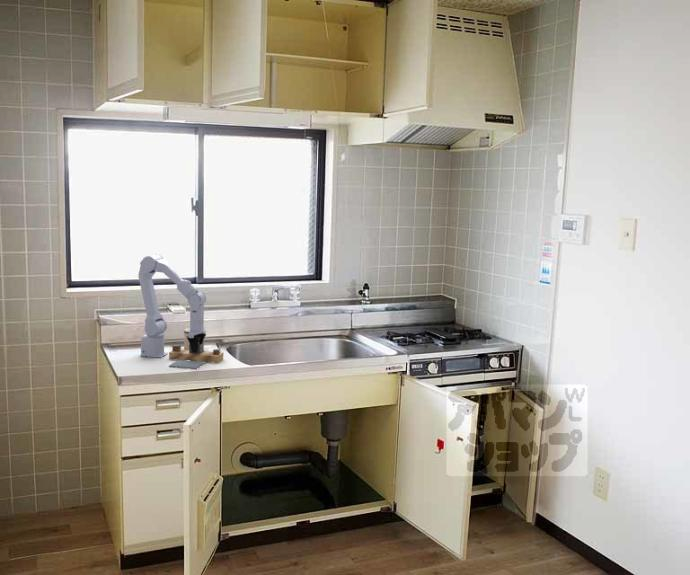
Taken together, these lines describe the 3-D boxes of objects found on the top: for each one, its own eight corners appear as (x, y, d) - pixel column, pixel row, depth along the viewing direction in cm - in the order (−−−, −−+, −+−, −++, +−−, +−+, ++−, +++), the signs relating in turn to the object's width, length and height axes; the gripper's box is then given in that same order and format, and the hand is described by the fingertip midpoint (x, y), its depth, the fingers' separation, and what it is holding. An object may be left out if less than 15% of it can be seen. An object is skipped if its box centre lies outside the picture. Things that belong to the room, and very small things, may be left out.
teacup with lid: (201, 351, 327) (202, 326, 325) (181, 351, 326) (182, 326, 325) (205, 346, 338) (206, 321, 337) (186, 345, 338) (186, 321, 336)
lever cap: (189, 353, 310) (189, 342, 310) (192, 350, 315) (192, 340, 314) (200, 354, 310) (200, 343, 309) (203, 351, 314) (203, 341, 313)
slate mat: (168, 366, 298) (168, 365, 298) (177, 361, 307) (177, 360, 307) (196, 369, 296) (196, 367, 296) (204, 363, 306) (204, 362, 306)
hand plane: (169, 359, 311) (169, 346, 310) (175, 355, 318) (175, 343, 317) (218, 363, 308) (218, 350, 307) (223, 359, 314) (223, 347, 314)
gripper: (200, 324, 302) (199, 355, 304) (211, 318, 317) (210, 348, 319) (183, 322, 303) (183, 354, 305) (195, 316, 318) (195, 347, 320)
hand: (196, 351), depth 312 cm, fingers closed on lever cap, 4 cm apart
